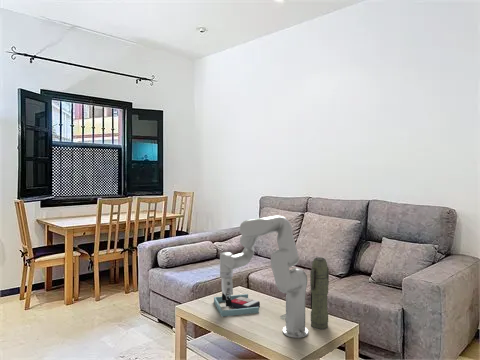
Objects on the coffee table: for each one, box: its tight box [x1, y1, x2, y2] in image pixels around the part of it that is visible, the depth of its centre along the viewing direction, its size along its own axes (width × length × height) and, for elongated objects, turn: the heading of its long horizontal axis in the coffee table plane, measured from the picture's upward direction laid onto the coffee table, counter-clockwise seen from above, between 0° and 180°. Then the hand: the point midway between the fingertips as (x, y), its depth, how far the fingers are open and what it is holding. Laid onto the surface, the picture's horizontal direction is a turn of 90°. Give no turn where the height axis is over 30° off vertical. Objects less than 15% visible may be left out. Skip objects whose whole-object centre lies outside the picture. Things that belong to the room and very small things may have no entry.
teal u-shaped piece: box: [213, 293, 260, 317], centre depth 219 cm, size 23×21×3 cm
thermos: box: [309, 256, 330, 330], centre depth 192 cm, size 9×12×35 cm
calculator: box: [229, 297, 261, 309], centre depth 219 cm, size 11×4×15 cm
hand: (226, 303), depth 217 cm, fingers open, 9 cm apart
